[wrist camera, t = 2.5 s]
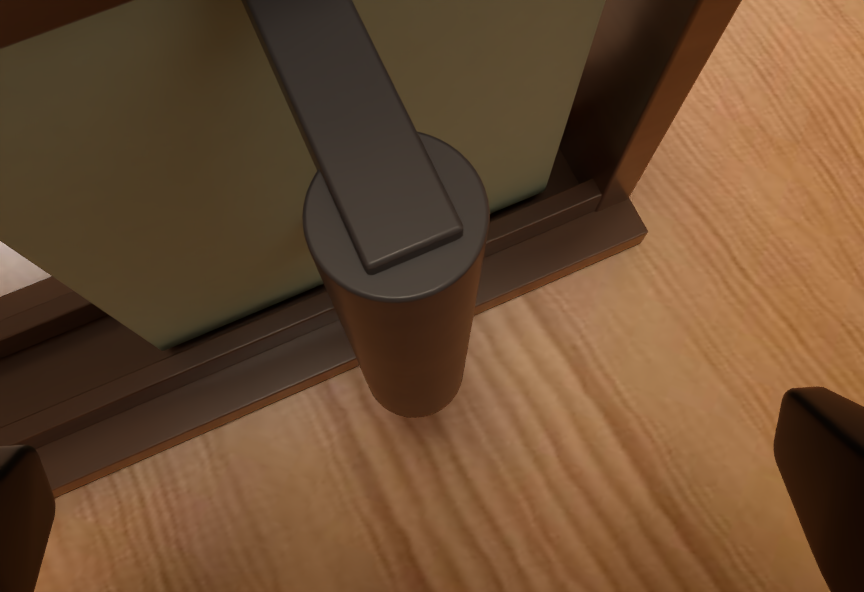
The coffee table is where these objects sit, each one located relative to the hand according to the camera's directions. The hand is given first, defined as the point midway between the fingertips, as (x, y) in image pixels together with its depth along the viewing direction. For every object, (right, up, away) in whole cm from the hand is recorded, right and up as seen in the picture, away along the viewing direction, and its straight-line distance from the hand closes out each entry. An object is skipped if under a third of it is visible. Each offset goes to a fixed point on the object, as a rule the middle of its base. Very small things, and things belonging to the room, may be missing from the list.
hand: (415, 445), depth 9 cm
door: (-1, +1, +9) cm, 9 cm away
